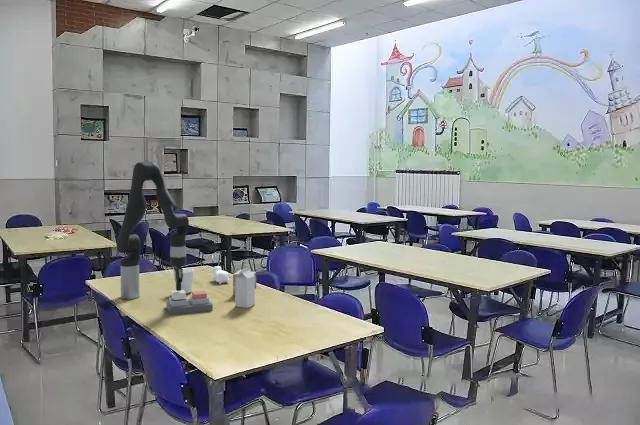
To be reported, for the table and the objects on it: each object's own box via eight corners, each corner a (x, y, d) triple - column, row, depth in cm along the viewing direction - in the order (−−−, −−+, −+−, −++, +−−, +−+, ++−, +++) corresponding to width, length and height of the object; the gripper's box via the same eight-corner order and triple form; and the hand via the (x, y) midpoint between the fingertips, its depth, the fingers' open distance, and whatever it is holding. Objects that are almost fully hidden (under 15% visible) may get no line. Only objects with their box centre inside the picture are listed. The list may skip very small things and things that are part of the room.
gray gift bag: (246, 286, 303) (246, 266, 302) (256, 287, 302) (256, 266, 301) (232, 296, 282) (232, 273, 281) (243, 296, 281) (244, 274, 280)
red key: (194, 300, 254) (194, 294, 254) (192, 297, 259) (192, 291, 259) (206, 299, 256) (206, 293, 256) (204, 296, 262) (204, 290, 261)
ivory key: (173, 299, 250) (173, 293, 249) (171, 296, 255) (171, 290, 255) (185, 298, 252) (185, 292, 252) (183, 295, 258) (183, 289, 257)
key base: (170, 314, 246) (170, 303, 245) (166, 307, 259) (166, 296, 258) (212, 310, 254) (212, 299, 253) (206, 303, 267) (206, 292, 266)
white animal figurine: (230, 287, 313) (221, 274, 324) (232, 275, 309) (223, 262, 321) (216, 289, 308) (208, 275, 320) (218, 277, 305) (210, 263, 316)
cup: (183, 296, 280) (182, 272, 279) (171, 293, 286) (171, 270, 284) (197, 292, 288) (197, 270, 286) (186, 289, 294) (186, 267, 292)
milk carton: (254, 304, 265) (254, 268, 263) (247, 308, 259) (247, 270, 257) (242, 303, 268) (242, 266, 266) (235, 306, 262) (235, 269, 260)
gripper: (168, 253, 256) (168, 288, 258) (172, 258, 244) (172, 294, 246) (183, 252, 259) (184, 286, 261) (188, 257, 247) (188, 293, 249)
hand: (178, 290), depth 253 cm, fingers closed
